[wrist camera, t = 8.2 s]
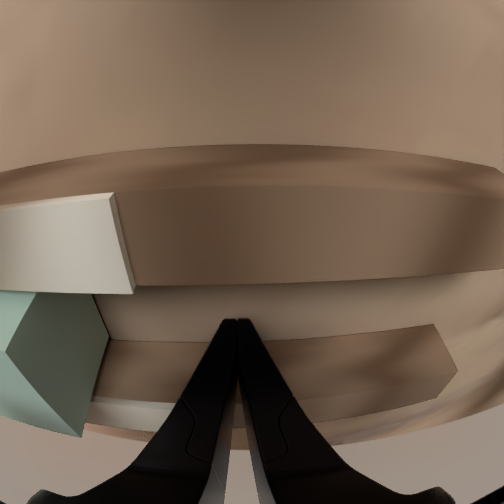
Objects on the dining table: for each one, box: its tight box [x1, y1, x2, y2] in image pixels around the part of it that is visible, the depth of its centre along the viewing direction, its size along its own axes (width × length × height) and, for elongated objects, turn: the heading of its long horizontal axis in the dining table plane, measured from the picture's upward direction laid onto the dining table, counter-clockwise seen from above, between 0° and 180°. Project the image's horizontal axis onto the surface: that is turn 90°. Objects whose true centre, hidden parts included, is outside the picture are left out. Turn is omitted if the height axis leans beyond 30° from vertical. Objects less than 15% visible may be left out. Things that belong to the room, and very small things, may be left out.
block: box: [0, 290, 109, 438], centre depth 9 cm, size 5×5×5 cm
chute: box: [0, 144, 504, 432], centre depth 10 cm, size 20×11×3 cm, turn 90°
